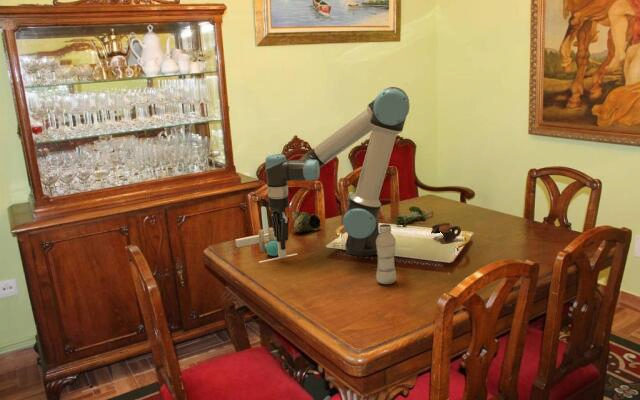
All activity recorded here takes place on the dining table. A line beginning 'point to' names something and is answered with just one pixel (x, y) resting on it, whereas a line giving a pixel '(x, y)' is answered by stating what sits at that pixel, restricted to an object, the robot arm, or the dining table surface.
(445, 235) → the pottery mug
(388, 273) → the plastic bottle
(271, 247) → the ball
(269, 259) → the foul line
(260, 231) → the pin
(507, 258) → the dining table surface
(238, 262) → the dining table surface
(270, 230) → the pin
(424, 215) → the figure
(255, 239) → the back rail
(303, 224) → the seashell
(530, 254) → the dining table surface
